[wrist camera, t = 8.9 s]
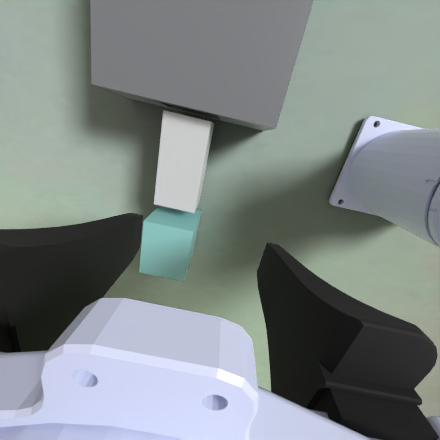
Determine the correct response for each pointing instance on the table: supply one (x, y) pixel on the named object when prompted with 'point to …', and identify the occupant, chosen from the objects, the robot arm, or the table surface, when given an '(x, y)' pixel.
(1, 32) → the table surface
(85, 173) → the table surface
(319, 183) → the table surface
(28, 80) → the table surface
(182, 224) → the plug
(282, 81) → the grey block
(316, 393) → the robot arm
